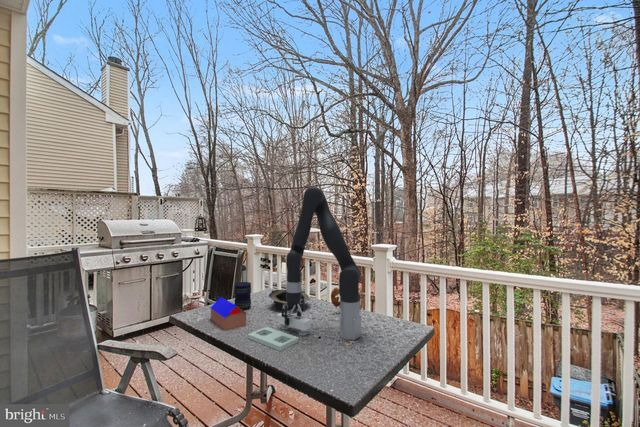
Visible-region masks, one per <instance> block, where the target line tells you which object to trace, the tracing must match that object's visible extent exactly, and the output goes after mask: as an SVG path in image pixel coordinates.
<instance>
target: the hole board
mask: <svg viewBox="0 0 640 427" xmlns="http://www.w3.org/2000/svg"><path fill="white" fill-rule="evenodd" d="M264 334H265V335H264ZM247 339H249V341H254V342H255V343H257V344H261V345H263V346H266V347H268V348H271V349H274V350H275V351H279V352H282V351H283V350H285V349H288V348H289V347H292V346H293V345H296V344H297V343H299V342H300V340H299V339H300V337H298V336H295V335H293V334H290V333H287V332H283V331H281V330H278V329H275V328H272V327H270V326H269V327H268V326H266V327H263V328H262V327H261V328H260V329H258V330H255V331H252V332H251V333H248V334H247ZM281 341H284V342H281Z"/></svg>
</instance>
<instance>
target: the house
mask: <svg viewBox="0 0 640 427" xmlns="http://www.w3.org/2000/svg"><path fill="white" fill-rule="evenodd" d="M209 308H210V320H211V322H213V323H214V324H215V325H217V326H218V327H220V328H221V329H222V330H224V331H230V330H233V329H237V328H241V327H245V326H247V312H246V311H243V310H242V309H240V308H239V307H238V306H236V305H234V302H233V303H232V302H231V301H229V300H227V299H225V298H224V297H223V296H220V297H219V298H218V299H217V300H216V301H215V302H214V303H213V304H212V305H211V306H210V307H209Z"/></svg>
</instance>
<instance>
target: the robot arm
mask: <svg viewBox="0 0 640 427" xmlns="http://www.w3.org/2000/svg"><path fill="white" fill-rule="evenodd" d="M301 206H302V207H301V210H300V215H299V218H298V223H297V224H296V225H297V226H296V228H295V232H294V235H293V238H292V244H291V247H290V250H289V252H288V253H287V255H286V261H285V262H286V264H285V265H286V270H287V271H286V285H285V286H286V287H285V290H286V300H287V304H286V305H284V304H283V305H282V310H281V313H282V314H281V316H282V317H284V318H285V325H287V326H288V325H289V317H290V315H291V314H293V312H297V313H296V316H300V317H302V314H303V312H305V308H306V307H305V302H304V300H303V299H301V292H302V271H301V261H302V259H303V256H304V253H305V248H306V245H307V244H308V239H309V236H310V234H311V233H310V232H311V229H312V222H313V218H314V214H315V216H316V219H317V222H318V223H317V224H318V226H319V230H320V235H321V236H322V239H323V241H324V243H325V246H326V247H327V248H328V250H329V251H330V253H332V255H333V257H335V259H336V261H337V263H338V265H339V268H340V273H339V276H338V289H339V294H338V295H339V302H340V306H339V337H340V338H342V339H343V340H347V341H348V340H352V341H355V340H357V339H359V338H361V337H362V316H361V315H360V304H361V302H360V300H361V299H360V297H361V296H360V292H359V289H360V288H359V285H360V284H359V282H360V280H361V276H362V275H361V271H360V269H359V266H358V265H357V264H356V262H355V260H354V259H353V256H352V255H351V253H350V249H349V248H348V244H347V242H346V240H345V238H344V236H343V233H342V231H341V229H340V227H339V225H338V223H337V221H336V219H335V218H334V216H333V214H332V212H331V210H330V208H329V205H328V201H327V199H326V196H325V193H324V191H323V190H322V189H321V188H319V187H317V186H309V187H307V188H306V189H305V191H304V193H303V199H302V205H301ZM284 313H285V314H284ZM287 314H288V315H287Z"/></svg>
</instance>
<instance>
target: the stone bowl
mask: <svg viewBox="0 0 640 427" xmlns="http://www.w3.org/2000/svg"><path fill="white" fill-rule="evenodd" d="M268 297H269V298H270V299H271V300H272V301H273V304H274V305H275V308H276V309H277V310H280V311H282V305H283V304H284V305H286V304H287V300H286V289H275V290H274V289H272V290H271V292H270V293H269V294H268ZM301 299H303V300H304V303H306V302H308V301H309V300H310V297H309V294H307V293H304V292H302V291H301Z"/></svg>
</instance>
